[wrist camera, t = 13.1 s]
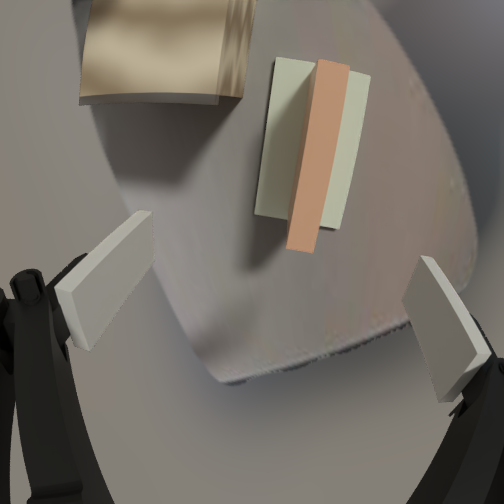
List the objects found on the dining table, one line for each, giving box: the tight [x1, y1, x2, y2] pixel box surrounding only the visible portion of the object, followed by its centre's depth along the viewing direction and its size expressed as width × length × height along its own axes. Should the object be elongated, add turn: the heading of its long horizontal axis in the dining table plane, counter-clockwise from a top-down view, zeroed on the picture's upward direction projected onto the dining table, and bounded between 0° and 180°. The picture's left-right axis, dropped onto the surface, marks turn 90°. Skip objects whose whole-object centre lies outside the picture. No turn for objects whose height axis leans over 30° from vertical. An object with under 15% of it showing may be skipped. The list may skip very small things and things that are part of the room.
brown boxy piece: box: [79, 0, 256, 105], centre depth 21 cm, size 15×12×12 cm
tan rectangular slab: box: [286, 59, 350, 253], centre depth 26 cm, size 16×2×9 cm, turn 173°
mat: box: [254, 57, 371, 229], centre depth 30 cm, size 18×10×1 cm, turn 173°
